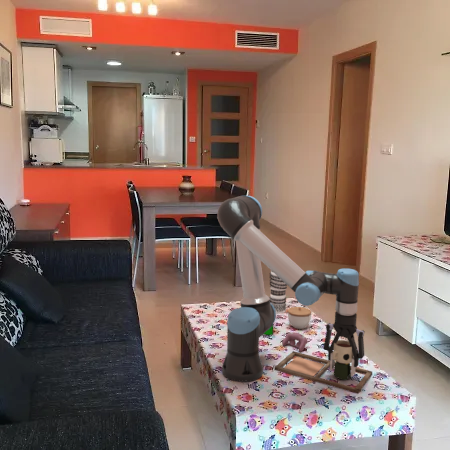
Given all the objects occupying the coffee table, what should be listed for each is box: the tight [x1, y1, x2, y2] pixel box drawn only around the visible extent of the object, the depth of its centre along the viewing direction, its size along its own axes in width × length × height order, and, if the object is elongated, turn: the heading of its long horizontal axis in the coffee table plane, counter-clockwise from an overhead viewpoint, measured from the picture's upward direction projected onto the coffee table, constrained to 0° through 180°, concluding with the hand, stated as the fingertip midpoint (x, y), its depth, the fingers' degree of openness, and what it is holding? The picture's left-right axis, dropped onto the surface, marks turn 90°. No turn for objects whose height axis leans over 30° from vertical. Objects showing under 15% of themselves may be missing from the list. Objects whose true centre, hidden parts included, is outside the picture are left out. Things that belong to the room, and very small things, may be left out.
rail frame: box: [273, 351, 373, 394], centre depth 184 cm, size 17×32×1 cm, turn 58°
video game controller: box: [281, 331, 308, 353], centre depth 206 cm, size 10×5×7 cm, turn 48°
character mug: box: [333, 339, 354, 381], centre depth 179 cm, size 11×7×13 cm, turn 125°
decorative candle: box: [269, 270, 288, 314], centre depth 248 cm, size 9×9×25 cm
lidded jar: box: [287, 306, 312, 330], centre depth 228 cm, size 11×11×9 cm
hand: (342, 371), depth 180 cm, fingers closed on character mug, 7 cm apart
